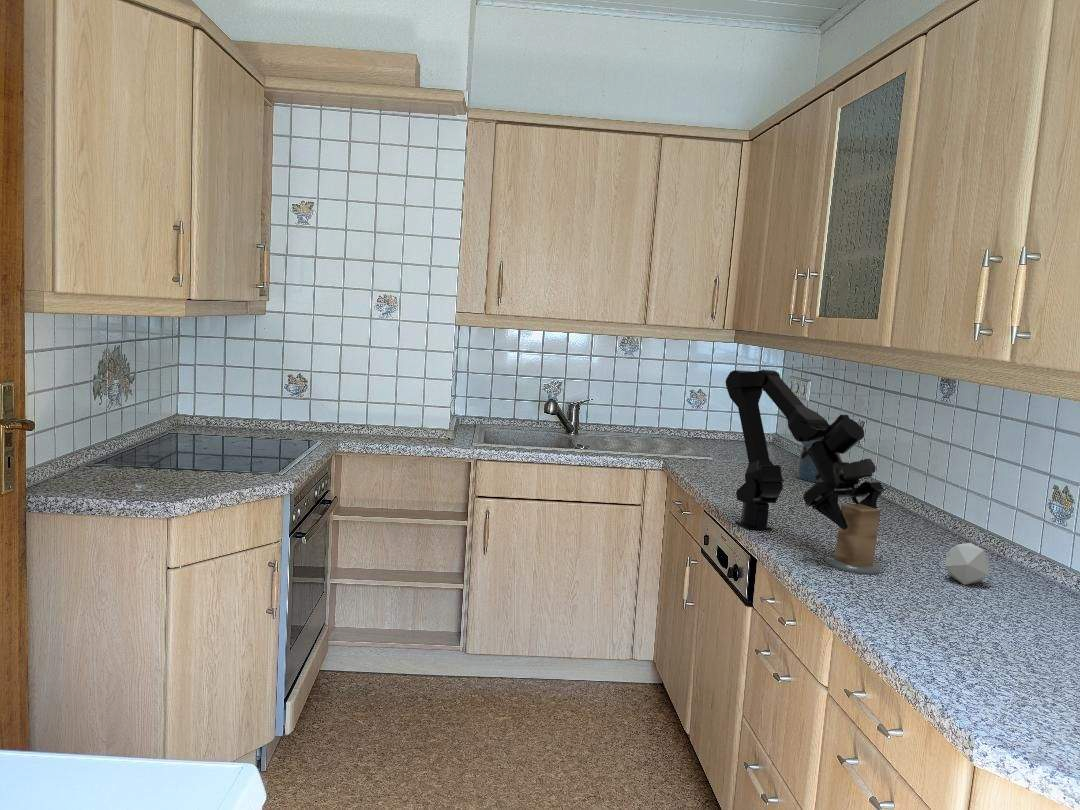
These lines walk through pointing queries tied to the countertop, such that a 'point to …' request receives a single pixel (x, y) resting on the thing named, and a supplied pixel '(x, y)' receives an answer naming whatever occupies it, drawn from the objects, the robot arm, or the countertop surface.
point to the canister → (807, 466)
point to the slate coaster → (860, 570)
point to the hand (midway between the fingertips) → (861, 528)
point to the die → (967, 563)
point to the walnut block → (858, 535)
